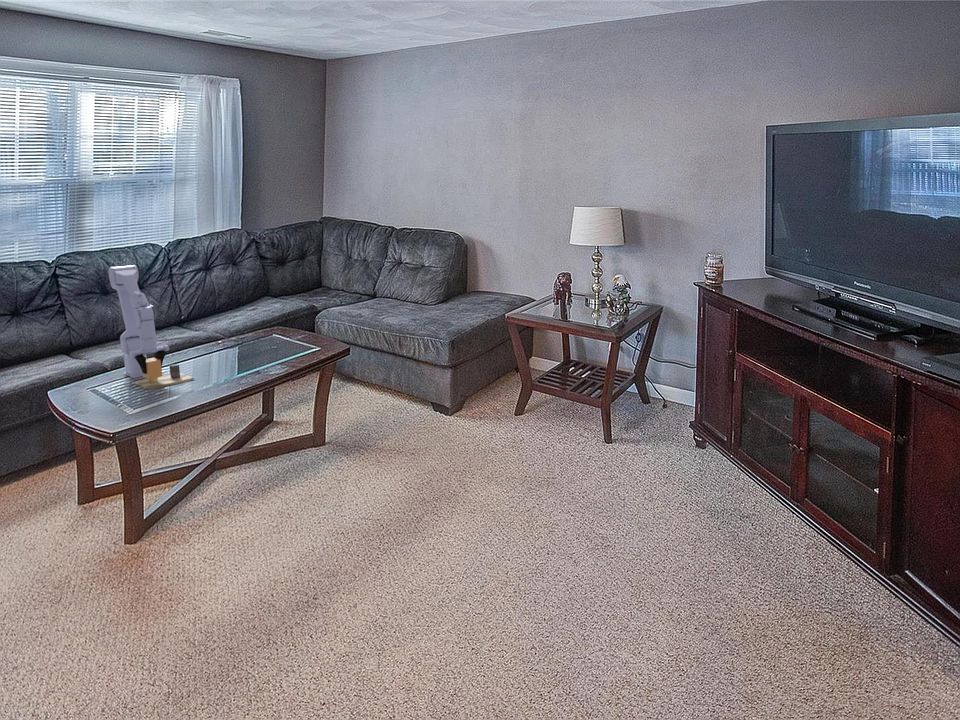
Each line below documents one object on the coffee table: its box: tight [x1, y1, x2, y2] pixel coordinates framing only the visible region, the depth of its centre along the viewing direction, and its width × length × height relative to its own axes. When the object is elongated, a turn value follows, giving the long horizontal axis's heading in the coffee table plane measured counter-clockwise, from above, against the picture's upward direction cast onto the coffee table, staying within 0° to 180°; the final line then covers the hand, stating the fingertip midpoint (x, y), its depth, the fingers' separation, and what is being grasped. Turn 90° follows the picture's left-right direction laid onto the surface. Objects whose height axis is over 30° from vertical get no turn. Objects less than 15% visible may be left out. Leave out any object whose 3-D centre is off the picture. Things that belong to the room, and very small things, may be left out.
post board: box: [134, 363, 195, 391], centre depth 289 cm, size 12×18×6 cm, turn 139°
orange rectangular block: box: [142, 357, 163, 379], centre depth 285 cm, size 5×5×7 cm
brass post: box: [147, 377, 158, 384], centre depth 286 cm, size 3×3×5 cm
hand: (152, 371), depth 285 cm, fingers closed on orange rectangular block, 5 cm apart
